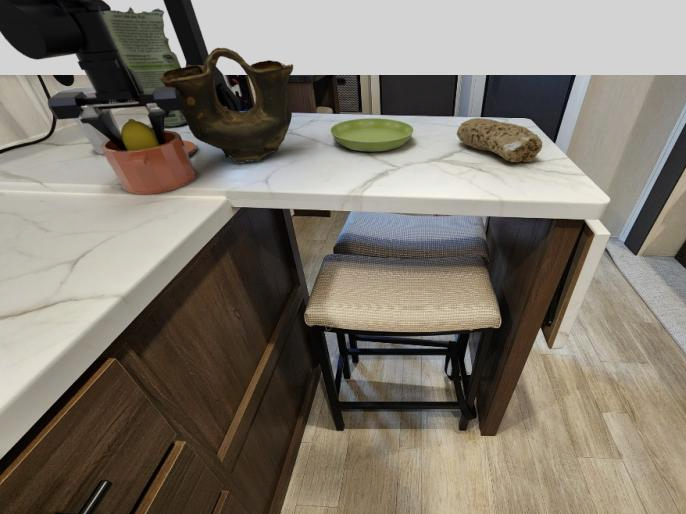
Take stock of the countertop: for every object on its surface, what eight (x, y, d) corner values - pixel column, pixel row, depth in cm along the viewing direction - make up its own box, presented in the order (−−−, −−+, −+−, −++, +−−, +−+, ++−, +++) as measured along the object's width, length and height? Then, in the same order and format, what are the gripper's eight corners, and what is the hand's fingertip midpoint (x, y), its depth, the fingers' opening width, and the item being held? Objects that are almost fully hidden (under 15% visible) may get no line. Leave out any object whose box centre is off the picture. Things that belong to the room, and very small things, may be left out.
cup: (112, 156, 75) (77, 95, 66) (83, 153, 76) (45, 93, 67) (139, 145, 80) (110, 87, 72) (111, 142, 81) (80, 86, 73)
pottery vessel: (301, 141, 83) (283, 43, 70) (312, 155, 76) (295, 48, 63) (193, 156, 75) (149, 47, 62) (194, 173, 68) (144, 54, 55)
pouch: (144, 127, 91) (86, 7, 74) (171, 116, 100) (125, 6, 83) (181, 129, 90) (132, 7, 73) (206, 118, 99) (166, 6, 82)
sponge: (541, 166, 76) (494, 124, 86) (551, 133, 69) (500, 92, 80) (491, 184, 74) (450, 139, 84) (497, 152, 67) (451, 108, 78)
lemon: (162, 157, 66) (141, 113, 61) (174, 164, 63) (154, 118, 58) (131, 165, 63) (106, 119, 57) (143, 173, 60) (118, 125, 55)
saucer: (424, 152, 79) (425, 137, 76) (338, 160, 74) (336, 145, 72) (400, 127, 93) (400, 115, 91) (327, 133, 89) (325, 120, 87)
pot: (198, 160, 73) (183, 124, 68) (193, 194, 61) (174, 152, 56) (133, 168, 70) (112, 130, 65) (114, 205, 57) (86, 161, 52)
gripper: (169, 43, 59) (203, 136, 70) (42, 46, 54) (100, 146, 65) (161, 51, 52) (201, 153, 62) (13, 55, 47) (84, 166, 57)
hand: (148, 154), depth 62 cm, fingers closed on lemon, 5 cm apart
